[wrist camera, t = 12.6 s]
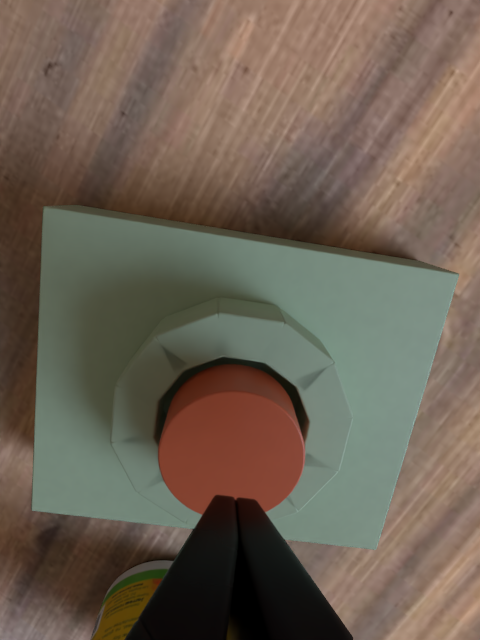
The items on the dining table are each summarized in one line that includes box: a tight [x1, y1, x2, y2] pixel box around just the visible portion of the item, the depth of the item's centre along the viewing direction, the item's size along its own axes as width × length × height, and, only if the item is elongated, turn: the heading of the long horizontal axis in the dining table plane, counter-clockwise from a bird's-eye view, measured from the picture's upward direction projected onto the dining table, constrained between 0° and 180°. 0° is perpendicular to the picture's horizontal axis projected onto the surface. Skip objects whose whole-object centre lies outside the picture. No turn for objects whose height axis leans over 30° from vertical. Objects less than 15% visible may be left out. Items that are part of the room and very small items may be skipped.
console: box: [31, 205, 459, 550], centre depth 14 cm, size 10×12×4 cm
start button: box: [158, 364, 305, 515], centre depth 11 cm, size 4×4×2 cm
